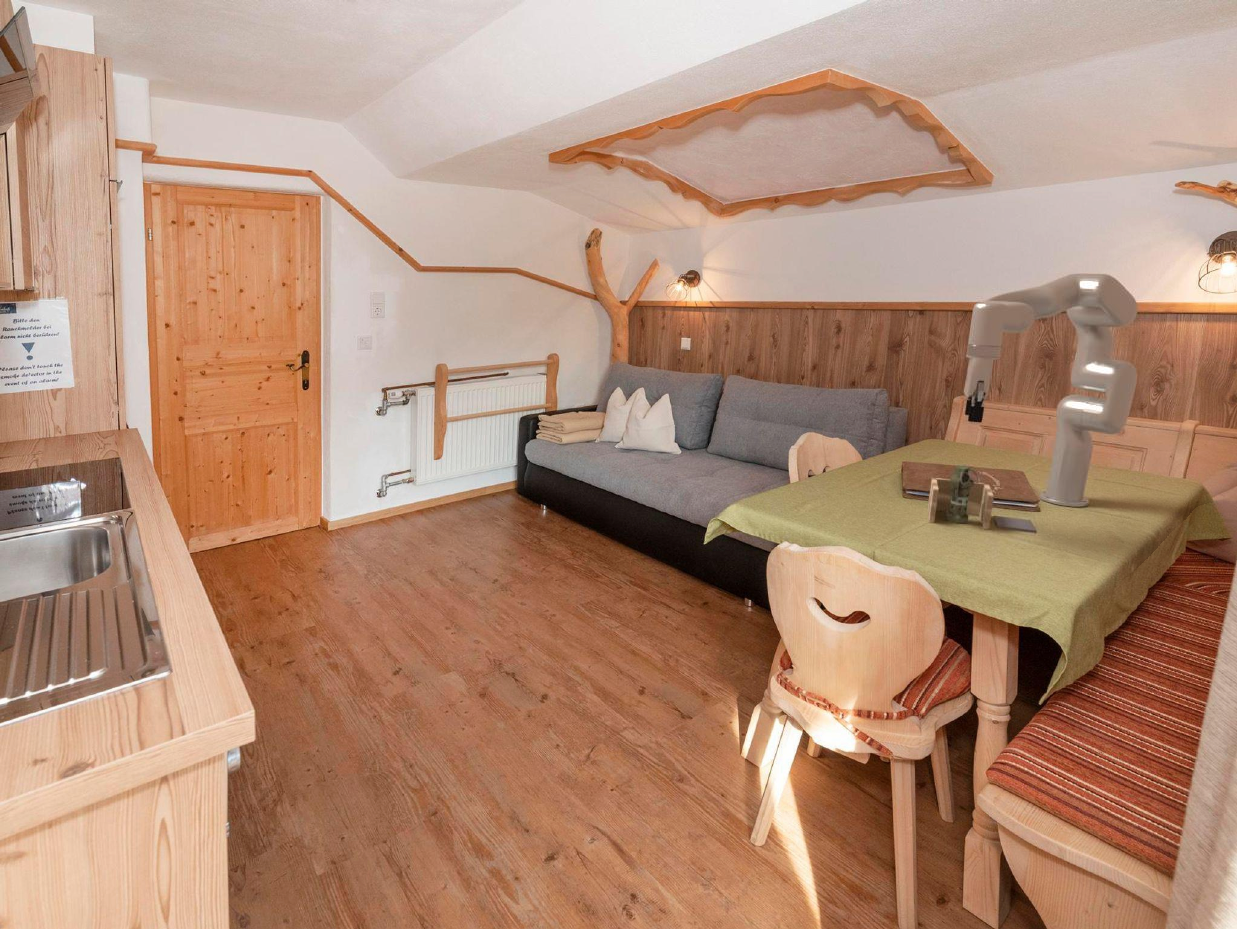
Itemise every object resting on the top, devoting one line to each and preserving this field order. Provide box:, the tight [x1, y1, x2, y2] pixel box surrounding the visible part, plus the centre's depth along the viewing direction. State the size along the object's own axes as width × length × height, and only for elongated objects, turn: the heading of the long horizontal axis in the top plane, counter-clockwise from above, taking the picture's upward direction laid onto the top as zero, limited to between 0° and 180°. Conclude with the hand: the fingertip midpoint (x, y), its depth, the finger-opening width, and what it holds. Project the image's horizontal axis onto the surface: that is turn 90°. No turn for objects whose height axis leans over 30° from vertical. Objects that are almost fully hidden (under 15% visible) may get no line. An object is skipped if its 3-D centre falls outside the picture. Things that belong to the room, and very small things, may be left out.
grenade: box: [945, 465, 981, 524], centre depth 195 cm, size 7×7×15 cm
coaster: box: [993, 515, 1037, 534], centre depth 194 cm, size 9×9×1 cm
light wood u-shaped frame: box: [927, 477, 995, 531], centre depth 198 cm, size 13×14×9 cm
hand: (973, 418), depth 189 cm, fingers open, 9 cm apart
